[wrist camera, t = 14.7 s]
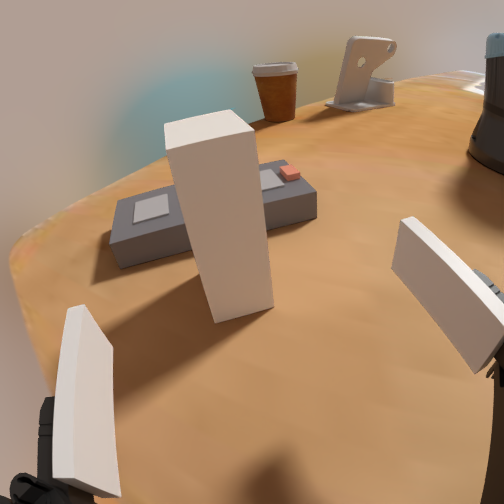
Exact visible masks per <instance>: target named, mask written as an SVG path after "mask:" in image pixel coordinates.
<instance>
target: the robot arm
mask: <svg viewBox="0 0 504 504" xmlns="http://www.w3.org/2000/svg"><path fill="white" fill-rule="evenodd" d="M485 58H486V76H485V91H484V103H483V111H482V114H481V116H480V118H479V120H478V123H477V125H476V127H475V129H474V131H473V133H472V135H471V137H470V143H469V152H470V154H471V155H472V156H473V157H474V158H475V159H476V160H478V161H479V162H481V163H482V164H484V165H486V166H487V167H489V168H491V169H493V170H495V171H497V172H499V173H502V174H504V33H492V34H490V35H489V36H488V37H487V42H486V55H485ZM391 269H392V270H393V271H394V272H395V273H396V275H397V276H398V277H399V278H400V279H401V280H402V282H403V283H404V284H405V285H406V286H407V288H408V289H409V290H410V291H411V292H412V293H413V295H414V296H415V297H416V298H417V299H418V301H419V302H420V303H421V304H422V306H423V307H424V308H425V309H426V311H427V312H428V313H429V314H430V316H431V317H432V318H433V319H434V321H435V322H436V323H437V324H438V326H439V327H440V328H441V329H442V331H443V332H444V333H445V335H446V336H447V337H448V339H449V340H450V341H451V343H452V344H453V345H454V346H455V348H456V349H457V351H458V352H459V353H460V355H461V356H462V357H463V359H464V360H465V361H466V363H467V364H468V366H469V367H470V368H471V370H472V371H473V373H474V374H476V373H478V372H479V371H481V370H482V369H483V368H485V367H486V366H487V365H488V364H489V362H490V361H491V360H492V358H493V357H494V358H495V359H496V361H495V363H494V364H493V365H492V367H491V368H490V369H489V371H488V372H487V375H486V378H488V377H489V376H490V375H491V374H492V373H493V371H494V374H493V375H492V377H491V378H492V379H494V406H493V423H492V434H491V444H490V452H489V460H488V466H487V472H486V478H485V484H484V489H483V493H482V498H481V503H480V504H504V294H503V293H502V292H500V290H499V289H498V288H497V287H496V285H495V286H494V283H493V282H492V281H491V280H490V279H489V278H488V277H487V276H486V275H484V274H483V273H481V272H479V271H478V270H476V269H474V270H471V269H470V268H469V267H468V266H467V265H466V264H465V263H464V262H463V261H462V260H461V259H460V258H459V257H458V256H457V255H456V254H455V253H454V252H453V251H452V250H451V249H449V248H448V247H447V246H446V245H445V244H444V243H443V242H442V241H441V240H440V239H439V238H438V237H436V236H435V235H434V234H433V233H432V232H431V231H430V230H429V229H427V228H426V227H425V226H424V225H423V224H422V223H421V222H419V221H418V220H417V219H416V218H415V217H414V216H412V217H409V218H405V219H402V220H400V225H399V231H398V237H397V242H396V247H395V252H394V257H393V262H392V267H391ZM39 425H40V427H39V432H38V435H39V438H38V464H37V465H38V467H37V468H38V469H37V470H38V471H37V472H38V473H37V478H36V477H34V476H32V475H30V474H27V473H19V474H18V475H16V476H15V477H14V478H13V480H12V481H11V485H10V497H11V499H9V498H6V497H4V496H1V495H0V504H97V503H95V502H94V496H93V495H95V496H98V497H101V498H118V497H121V490H120V482H119V474H118V465H117V454H116V442H115V427H114V405H113V346H112V345H111V344H110V342H109V341H108V339H107V338H106V336H105V335H104V333H103V332H102V331H101V329H100V328H99V326H98V325H97V323H96V322H95V320H94V319H93V317H92V315H91V314H90V312H89V311H88V309H87V308H86V306H85V304H83V305H79V306H75V307H71V308H68V311H67V316H66V321H65V326H64V332H63V338H62V344H61V351H60V358H59V365H58V373H57V382H56V393H55V396H53V397H46V398H45V400H44V403H43V405H42V407H41V410H40V418H39Z"/></svg>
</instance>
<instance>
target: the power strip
mask: <svg viewBox="0 0 504 504" xmlns="http://www.w3.org/2000/svg"><path fill="white" fill-rule="evenodd" d="M259 171H260V180H261V189H262V197H263V206H264V215H265V224H266V230H270V229H274V228H278V227H282V226H286V225H290V224H294V223H298V222H302V221H306V220H310V219H314V218H317V191H316V190H315V189H314V188H313V187H312V186H311V185H310V184H309V183H308V182H307V181H306V180H305V179H303V178H302V177H301V176H300V172H299V171H298V170H297V169H296V168H295V167H294V166H293V165H292V164H291V165H289V164H288V163H287V162H286V161H285V160H279V161H274V162H269V163H264V164H259ZM109 245H110V247H111V250H112V252H113V254H114V256H115V259H116V261H117V263H118V265H119V267H120V269H122V268H126V267H130V266H133V265H137V264H141V263H144V262H148V261H152V260H155V259H159V258H163V257H167V256H170V255H174V254H178V253H181V252H185V251H189V250H192V247H191V243H190V240H189V236H188V233H187V229H186V225H185V222H184V218H183V214H182V211H181V207H180V203H179V200H178V196H177V192H176V188H175V185H171V186H167V187H163V188H160V189H156V190H152V191H149V192H145V193H142V194H138V195H135V196H132V197H128V198H125V199H121V200H118V201H117V206H116V211H115V216H114V221H113V226H112V231H111V236H110V242H109Z"/></svg>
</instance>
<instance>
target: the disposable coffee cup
mask: <svg viewBox="0 0 504 504" xmlns="http://www.w3.org/2000/svg"><path fill="white" fill-rule="evenodd" d="M298 70H299V68H297V65H296V63H295V62H276V63H265V64H258V65H254V66H253V71H252V73H253V76H254V77H255V81H256V85H257V88H258V92H259V96H260V100H261V104H262V108H263V112H264V116H265V120H267V121H270V122H283V121H289V120H292V119H294V118H295V103H296V82H297V73H298Z"/></svg>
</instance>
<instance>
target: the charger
mask: <svg viewBox="0 0 504 504" xmlns="http://www.w3.org/2000/svg"><path fill="white" fill-rule="evenodd" d="M164 130H165V143H166V152H167V156H168V160H169V164H170V168H171V172H172V176H173V180H174V184H175V188H176V192H177V196H178V200H179V203H180V207H181V211H182V214H183V218H184V222H185V225H186V229H187V233H188V236H189V240H190V243H191V247H192V250H193V254H194V257H195V261H196V264H197V267H198V271H199V274H200V278H201V281H202V284H203V287H204V291H205V294H206V297H207V300H208V304H209V307H210V310H211V313H212V316H213V320H214V323H219V322H223V321H226V320H230V319H234V318H237V317H241V316H244V315H248V314H251V313H255V312H258V311H262V310H265V309H269V308H272V307H274V299H273V290H272V280H271V270H270V261H269V252H268V242H267V233H266V224H265V215H264V206H263V197H262V189H261V180H260V171H259V163H258V154H257V146H256V138H255V130H254V129H253V128H251V127H250V126H249V125H248V124H247V123H246V122H245V121H243V120H242V119H241V118H240V117H239V116H237V115H236V114H235V113H234V112H233V111H231V110H230V109H229V110H224V111H219V112H214V113H209V114H204V115H200V116H195V117H191V118H187V119H182V120H178V121H174V122H170V123H166V124H164Z"/></svg>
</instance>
